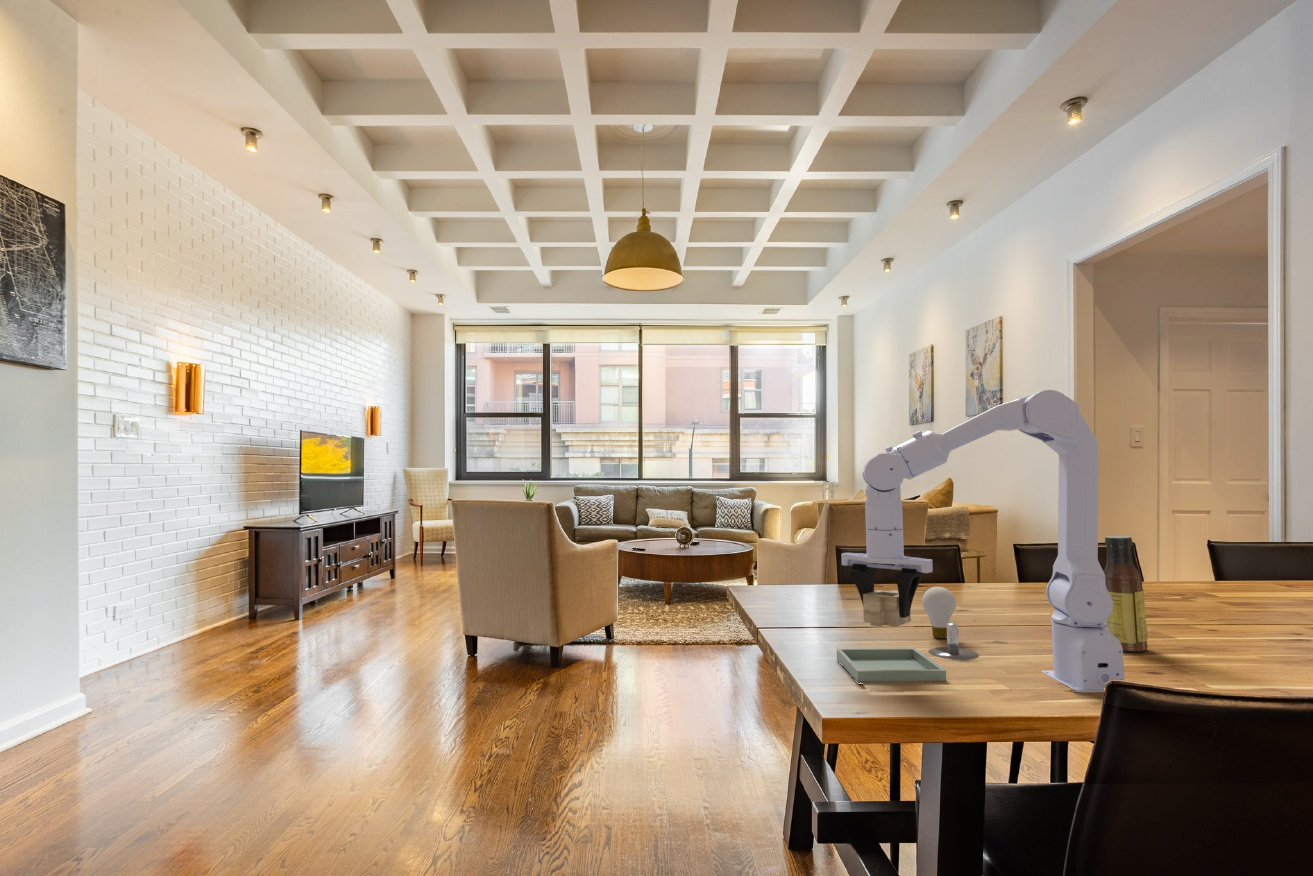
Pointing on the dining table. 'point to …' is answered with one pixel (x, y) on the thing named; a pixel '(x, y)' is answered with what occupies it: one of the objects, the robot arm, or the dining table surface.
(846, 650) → the tray
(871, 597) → the beige hollow block
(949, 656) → the grey metal round stand
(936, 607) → the light bulb
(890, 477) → the robot arm
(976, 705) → the dining table surface
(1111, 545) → the sauce bottle
